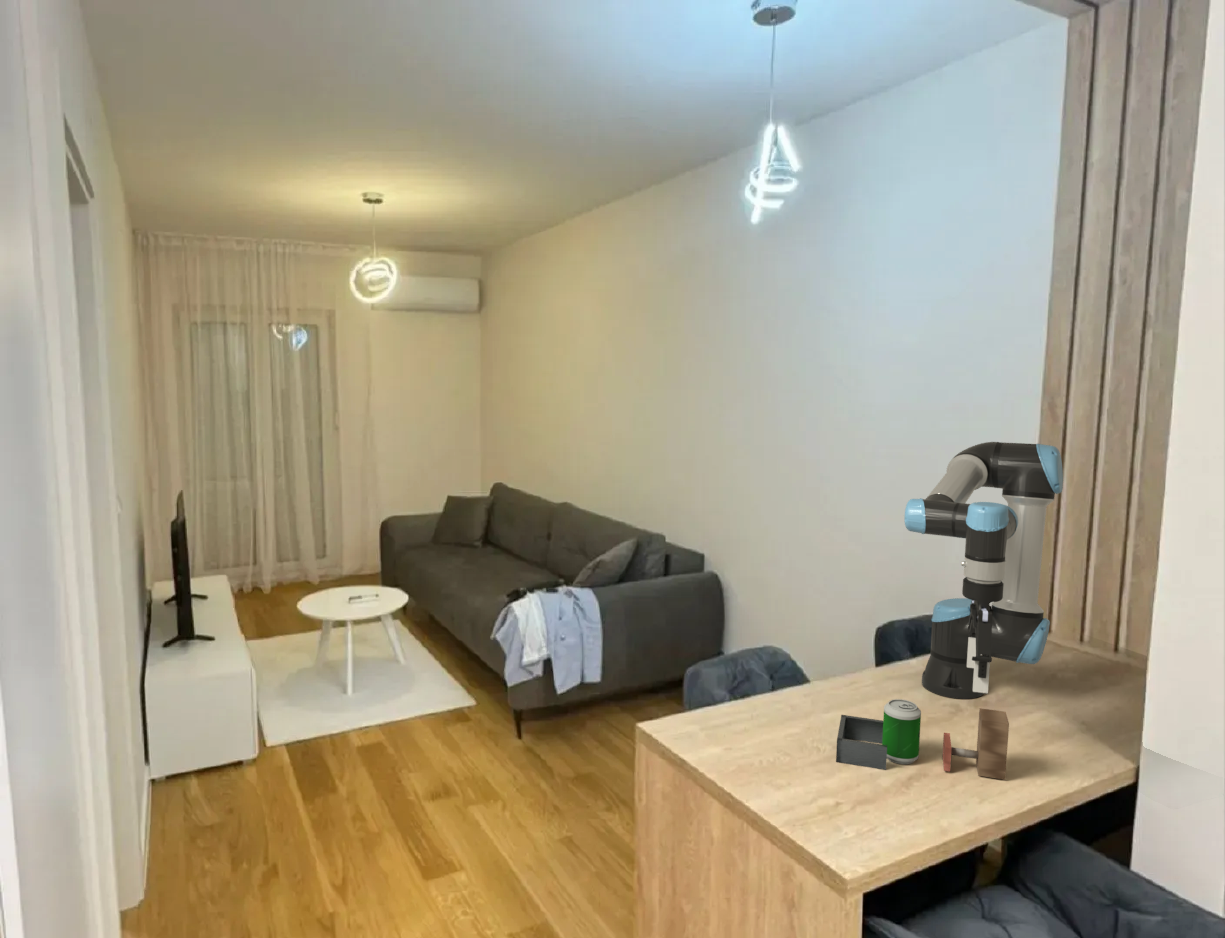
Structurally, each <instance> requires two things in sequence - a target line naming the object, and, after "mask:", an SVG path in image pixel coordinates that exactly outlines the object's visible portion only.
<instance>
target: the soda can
mask: <svg viewBox="0 0 1225 938" xmlns="http://www.w3.org/2000/svg"><path fill="white" fill-rule="evenodd" d="M921 720H922V711H921V709H920V708H919V707H918V705H917V703H915V702H913V701H910V700H907V699H901V698H900V699H899V698H895V699H891V700H889V701H888V702H886V703H885V704H884V706H883V720H882V721H883V739H882V745H887V760H889V762H891V763H894V764H897V765H911V764H913V763H914V762H915V761H917V760H918V759H919V754H920V742H921V741H920V740H921V724H922V723H921Z"/></svg>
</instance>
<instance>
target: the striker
mask: <svg viewBox="0 0 1225 938" xmlns="http://www.w3.org/2000/svg"><path fill="white" fill-rule="evenodd" d="M978 709H979V713H978V725H977V739H976V740H977V741H976V750H973V749H966V748H959V747H953V746H952V739H951V733H948V732H943V738H942V739H943V740H942V742H943V743H942V762H943V763H942V766H943V771H944V772H951V763H952V762H951V761H952V756H954V757H962V758H966V759H967V758H968V759H975V763H976V764H975V765H976V770H977V775H978V776H980V777H986V778H993V779H998V780H1006V774H1007V773H1006V772H1007V761H1008V760H1007V759H1008V746H1009V731H1010V730H1009V729H1010V728H1009V727H1010V721H1009V718H1008V715H1007V712H1006V711H1002V710H995V709H988V708H982V707H981V708H978Z"/></svg>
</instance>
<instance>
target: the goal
mask: <svg viewBox="0 0 1225 938" xmlns="http://www.w3.org/2000/svg"><path fill="white" fill-rule="evenodd" d="M882 739H883V720H882V719H875V718H867V717H861V716H852V715H847V714H841V715H840V721H839V727H838V732H837V738H836V753H835V754H836V755H835V756H836V757H835V759H836V760H835V762H836V763H840V764H846V765H853V766H860V767H865V768H866V767H867V768H871V769H876V770H877V769H878V770H884V771H886V770H887V760H888V759H887V745H882Z"/></svg>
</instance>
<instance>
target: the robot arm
mask: <svg viewBox="0 0 1225 938" xmlns="http://www.w3.org/2000/svg"><path fill="white" fill-rule="evenodd" d="M1063 474H1064V472H1063V462H1062V456H1061V452H1060V450H1059V449H1058V447H1056V446H1054V445H1051V444H1049V445H1048V444H1041V443H1022V442H1019V443H1018V442H1003V441H1001V442H999V441H989V442H988V441H986V442H981V443H978V444H975V445H972V446H970V447H968V448H967V447H966V449H963V450H961V451H960V452H958V453H957V454H956V455H954V456H953V457H952V459H951V460H950V461H949V462H948V464H947V467H946V473H945V474H944V475H943V476H942V478H941V479H940V481H939V482H938V483H937V484H936V486H934V488H933V489H932V490H931V491H930V493H929V494H928V496H927V497H926V498H925V499H924V498H911V499H909V500H908V501H907V502H906V505H905V509H904V525H905V528H906V530H907V531H909V532H912V533H919V534H921V535H932V536H933V535H934V536H942V537H951V538H959V539H965V546H964V547H965V548H964V549H965V550H964V560H965V561H964V560H963V561H961V562H960V566H962V567H964V568H963V575H964V576H965V577H964V578H963V579H962V589H961V591H962V592H961V593H962V596H963V597H964V598H963V597H962V598H961V597H959V598H958V597H956V598H948V599H947V598H946V599H942V600H940V601H938V602H936V603H935V604H934V606H933V610H932V617H931V637H930V653H929V654H930V655H929V658H928V660H927V663H926V666H925V668H924V669H925V670H923V672H922V674H921V685H922V687H923V688H924V689H925V690H928V691H929V692H931V693H933V694H936V695H939V696H942V697H945V698H952V699H958V700H959V699H962V700H963V699H965V700H969V699H971V700H972V699H977V698H981V697H982V696H983V695H984V694H989V683H990V668H991V667H990V666H991V663H992V662H993V658H994V659H995V658H996V659H1001V660H1006V661H1010V662H1015V663H1016V664H1019V663H1020V664H1021V663H1022V664H1026V665H1027V664H1028V665H1036V664H1037V663H1039V662H1040V660H1041V658H1042V656H1043V654H1044V650H1045V647H1046V645H1047V640H1048V637H1049V631H1050V625H1051V621H1050V620H1049V619H1048V618H1047V617H1044V613H1045V610H1044V609H1043V608H1042V607H1041V606H1040V604H1039V594H1040V592H1039V591H1040V583H1041V582H1040V581H1041V572H1042V570H1041V568H1042V558H1043V550H1044V539H1045V538H1044V536H1045V526H1046V516H1047V515H1046V514H1047V507H1048V506H1049V505H1050V504H1052V503H1053V502H1054V501H1055V494H1056V495H1059V494H1061V493H1062V492H1063V486H1064V485H1063V483H1064V482H1063V481H1064V475H1063ZM981 487H982V488H983V487H984V488H994V489H1002V491H1001V496H1002V499H1004V500H1005V501H1006V502H1007V505H1006V504H1003V503H999V502H991V501H978V502H977V501H975V502H972V503H967V502H968V500H969V499H970V497H971V496H972V494H973V493H974V491H976V490H979V489H980V488H981ZM990 604H991V605H990Z"/></svg>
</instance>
